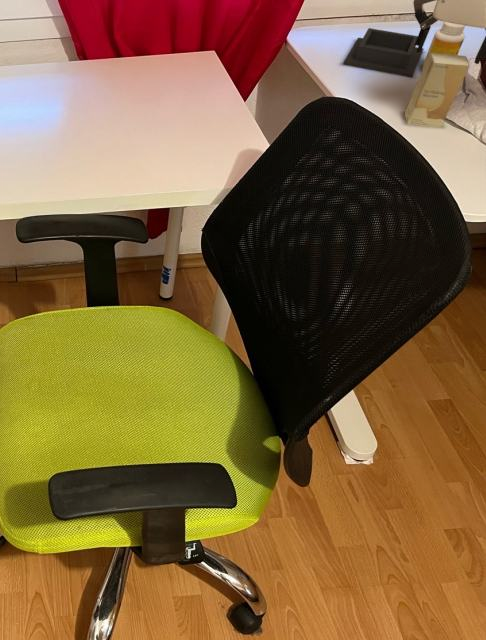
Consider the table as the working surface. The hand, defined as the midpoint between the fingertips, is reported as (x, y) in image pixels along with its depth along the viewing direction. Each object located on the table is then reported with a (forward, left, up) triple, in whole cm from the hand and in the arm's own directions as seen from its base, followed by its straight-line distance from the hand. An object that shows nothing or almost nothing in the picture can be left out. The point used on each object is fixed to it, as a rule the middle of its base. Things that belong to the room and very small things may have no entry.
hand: (447, 55), depth 123 cm
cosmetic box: (0, 0, -13) cm, 13 cm away
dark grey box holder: (+12, -25, -13) cm, 30 cm away
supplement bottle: (+1, -23, -13) cm, 26 cm away
